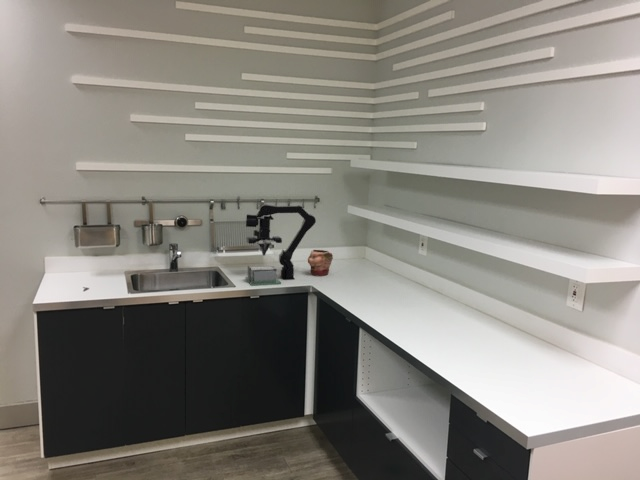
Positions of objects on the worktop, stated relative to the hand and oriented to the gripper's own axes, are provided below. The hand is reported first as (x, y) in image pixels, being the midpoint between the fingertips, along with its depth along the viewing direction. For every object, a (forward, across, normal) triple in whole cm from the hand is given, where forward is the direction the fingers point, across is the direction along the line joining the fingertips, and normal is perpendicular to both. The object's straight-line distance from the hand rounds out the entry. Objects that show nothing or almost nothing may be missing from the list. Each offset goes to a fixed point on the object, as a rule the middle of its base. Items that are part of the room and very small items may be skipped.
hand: (263, 255), depth 286 cm
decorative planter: (+13, -35, -2) cm, 38 cm away
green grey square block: (+13, +2, +7) cm, 15 cm away
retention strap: (+6, +2, +7) cm, 9 cm away
